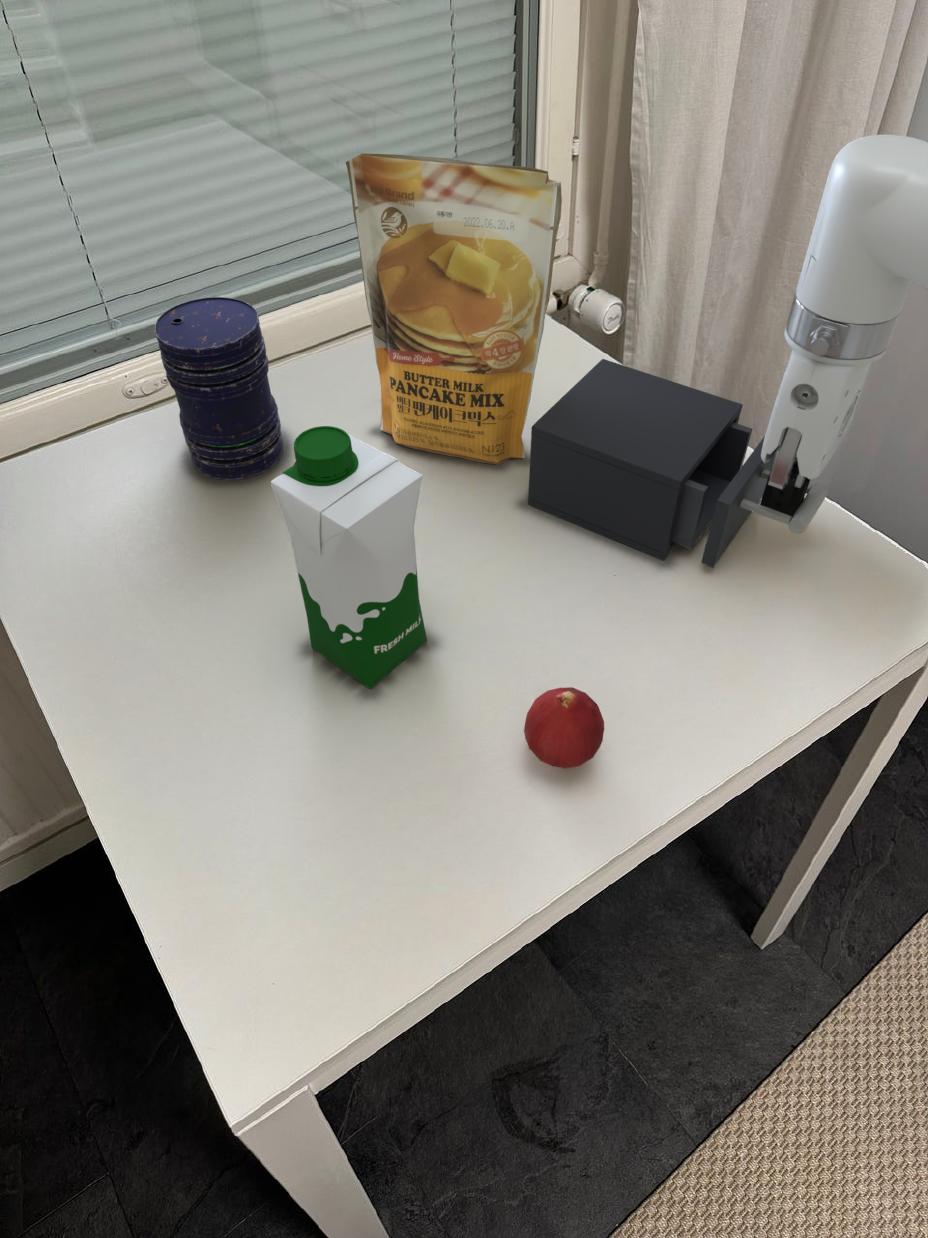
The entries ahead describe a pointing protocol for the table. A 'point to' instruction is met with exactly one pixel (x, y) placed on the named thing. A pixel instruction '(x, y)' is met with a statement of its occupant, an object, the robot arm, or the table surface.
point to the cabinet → (624, 453)
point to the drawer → (732, 496)
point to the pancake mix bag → (455, 296)
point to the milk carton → (354, 550)
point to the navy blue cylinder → (221, 386)
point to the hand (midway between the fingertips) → (779, 509)
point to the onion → (564, 727)
